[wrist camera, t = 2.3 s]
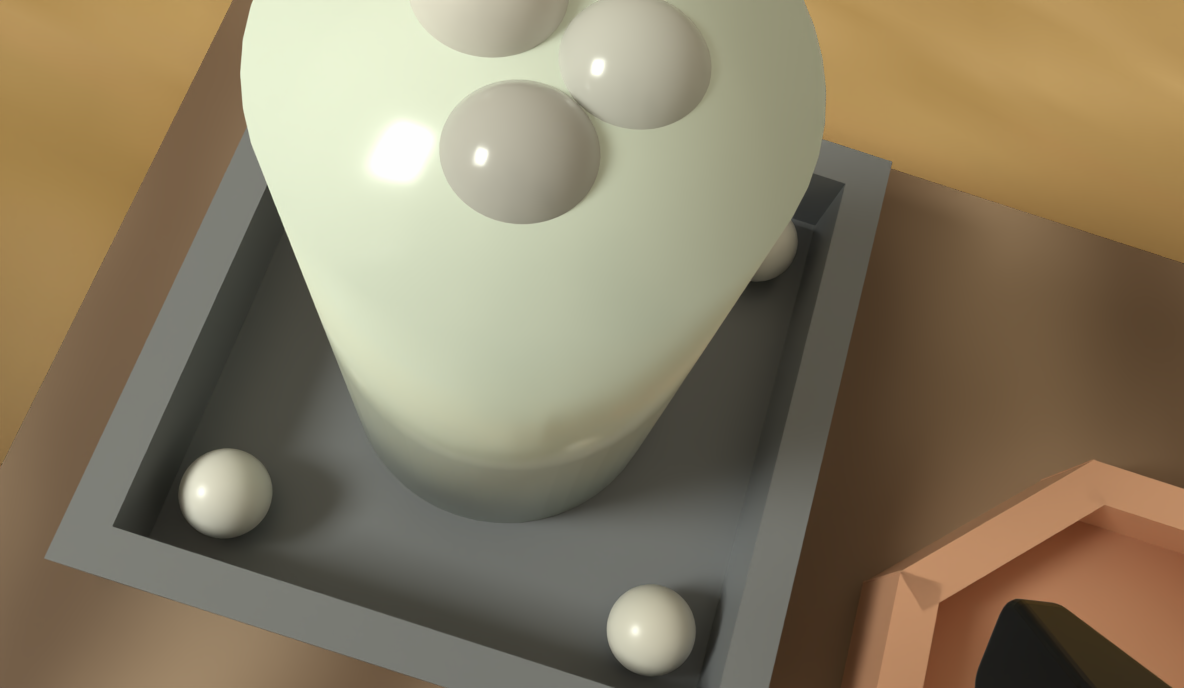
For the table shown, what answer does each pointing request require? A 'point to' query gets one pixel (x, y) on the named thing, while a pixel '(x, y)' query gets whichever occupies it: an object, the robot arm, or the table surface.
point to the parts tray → (457, 544)
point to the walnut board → (850, 461)
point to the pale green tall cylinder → (527, 215)
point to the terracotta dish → (1032, 580)
